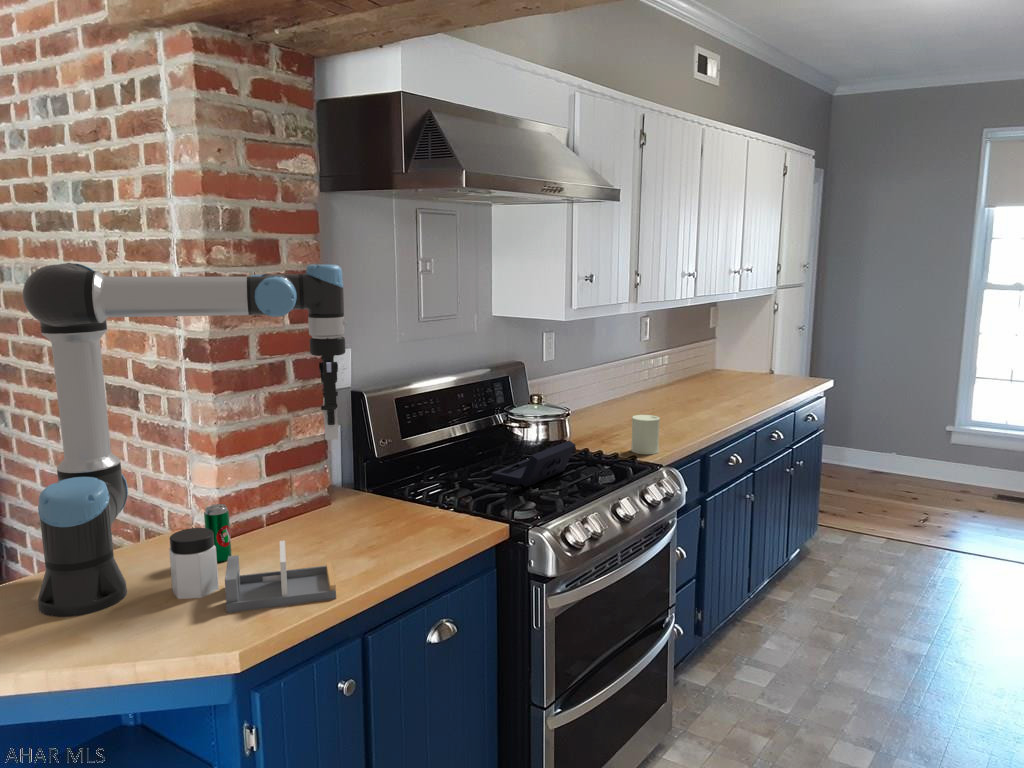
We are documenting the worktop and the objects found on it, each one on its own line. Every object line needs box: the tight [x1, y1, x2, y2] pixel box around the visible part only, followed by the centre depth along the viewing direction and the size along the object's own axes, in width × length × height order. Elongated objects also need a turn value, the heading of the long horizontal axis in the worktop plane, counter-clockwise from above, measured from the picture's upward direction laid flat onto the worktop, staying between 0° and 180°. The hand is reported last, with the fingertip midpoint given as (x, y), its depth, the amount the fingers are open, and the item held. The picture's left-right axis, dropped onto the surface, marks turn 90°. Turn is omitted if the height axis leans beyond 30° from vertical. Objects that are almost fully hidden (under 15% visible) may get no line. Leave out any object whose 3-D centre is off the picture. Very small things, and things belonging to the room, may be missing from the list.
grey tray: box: [224, 555, 337, 614], centre depth 156 cm, size 20×13×7 cm, turn 107°
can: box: [630, 414, 661, 456], centre depth 264 cm, size 9×9×12 cm
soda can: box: [203, 503, 233, 564], centre depth 173 cm, size 5×5×12 cm
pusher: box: [263, 540, 288, 596], centre depth 155 cm, size 4×11×8 cm, turn 17°
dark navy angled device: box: [491, 440, 577, 488], centre depth 236 cm, size 21×16×10 cm
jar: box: [168, 527, 220, 600], centre depth 157 cm, size 9×8×12 cm
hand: (331, 432), depth 175 cm, fingers open, 13 cm apart
